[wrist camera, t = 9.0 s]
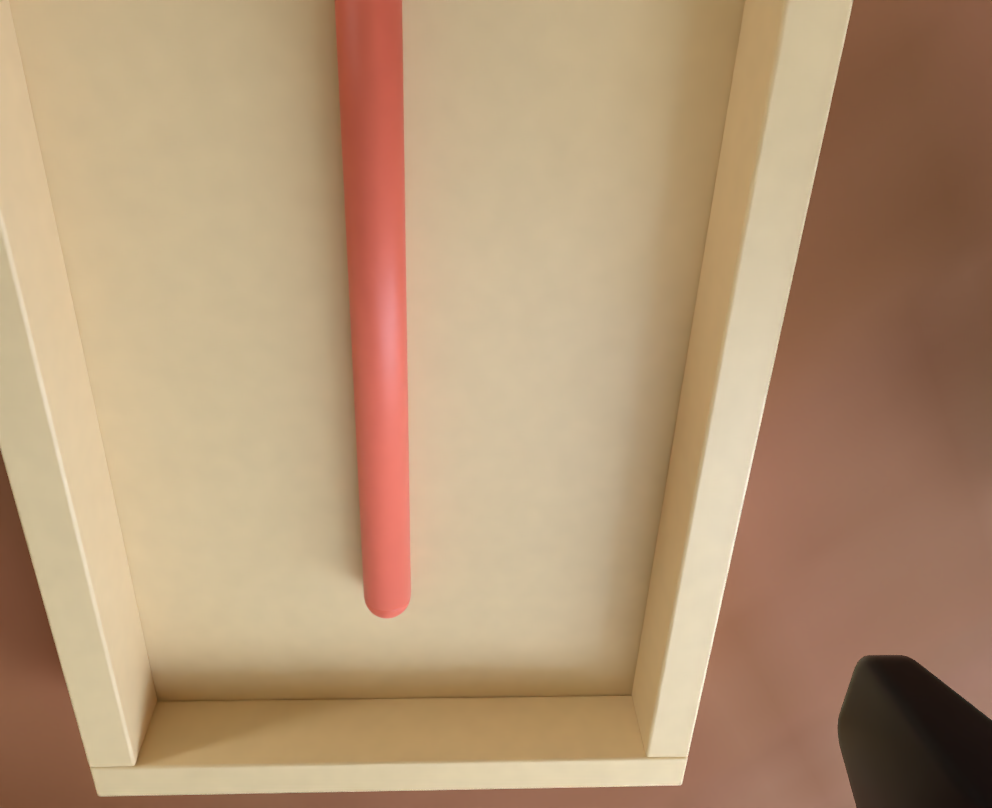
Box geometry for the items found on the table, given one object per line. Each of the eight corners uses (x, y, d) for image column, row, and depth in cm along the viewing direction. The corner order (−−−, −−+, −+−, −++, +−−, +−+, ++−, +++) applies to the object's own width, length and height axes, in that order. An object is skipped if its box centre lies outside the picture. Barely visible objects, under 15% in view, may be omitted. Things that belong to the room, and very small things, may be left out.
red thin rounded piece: (408, 626, 16) (150, 381, 7) (364, 617, 16) (59, 365, 7) (500, 273, 18) (399, -220, 10) (462, 268, 19) (329, -222, 10)
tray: (659, 697, 19) (682, 787, 17) (131, 704, 18) (96, 797, 16) (895, -572, 9) (1005, -681, 8) (-188, -660, 9) (-354, -801, 7)
